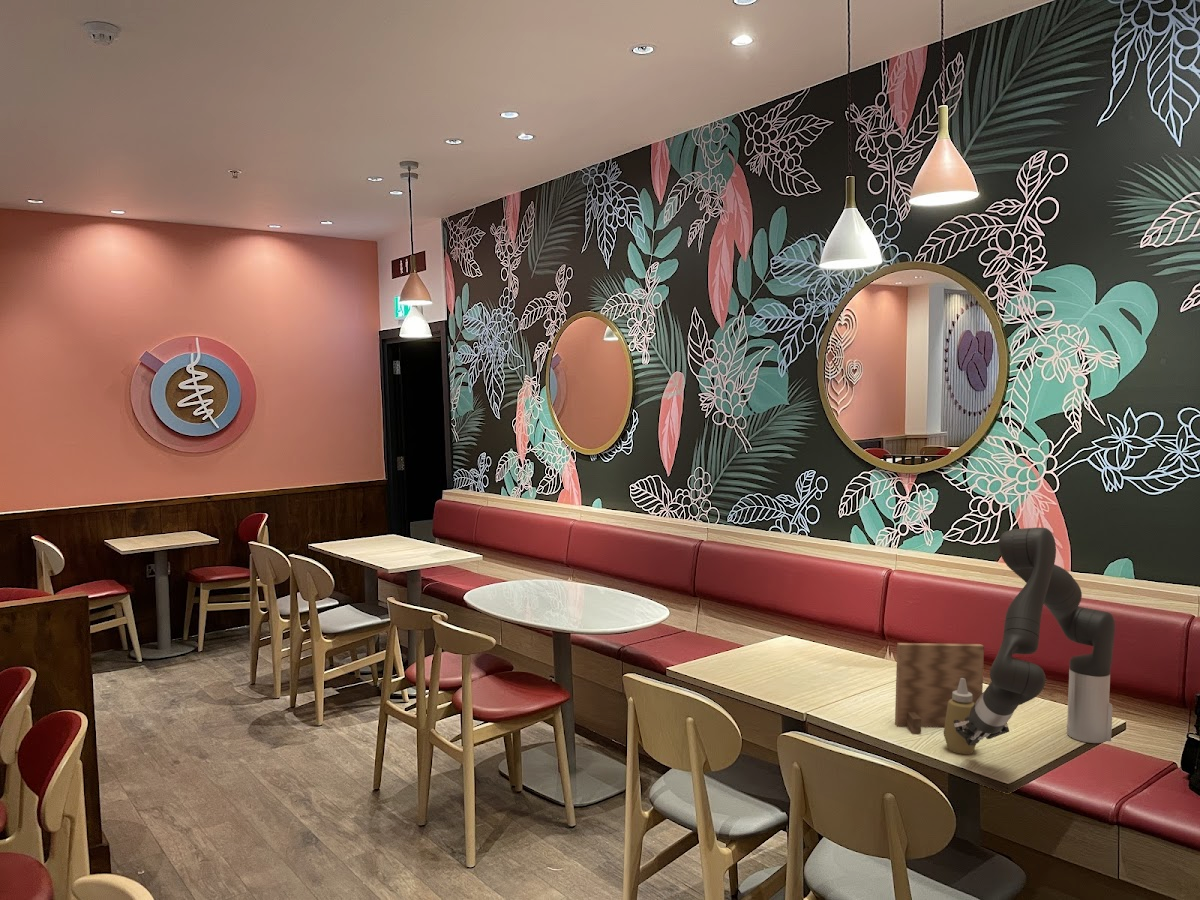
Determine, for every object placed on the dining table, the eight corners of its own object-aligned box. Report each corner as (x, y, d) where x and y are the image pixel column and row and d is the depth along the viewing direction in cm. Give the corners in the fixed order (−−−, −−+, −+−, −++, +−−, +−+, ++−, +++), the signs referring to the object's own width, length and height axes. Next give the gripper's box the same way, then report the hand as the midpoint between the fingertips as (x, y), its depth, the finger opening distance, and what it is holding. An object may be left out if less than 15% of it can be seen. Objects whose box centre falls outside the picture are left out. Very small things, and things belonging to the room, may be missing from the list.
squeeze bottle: (949, 741, 226) (951, 671, 225) (982, 749, 221) (984, 678, 220) (938, 750, 220) (940, 679, 219) (972, 759, 215) (974, 686, 214)
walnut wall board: (978, 725, 237) (980, 644, 236) (988, 735, 230) (991, 651, 229) (894, 723, 238) (897, 642, 236) (903, 733, 231) (905, 650, 229)
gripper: (1017, 694, 204) (993, 727, 217) (959, 694, 204) (938, 726, 217) (1027, 726, 199) (1002, 757, 212) (967, 725, 199) (946, 756, 212)
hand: (970, 741), depth 215 cm, fingers closed
